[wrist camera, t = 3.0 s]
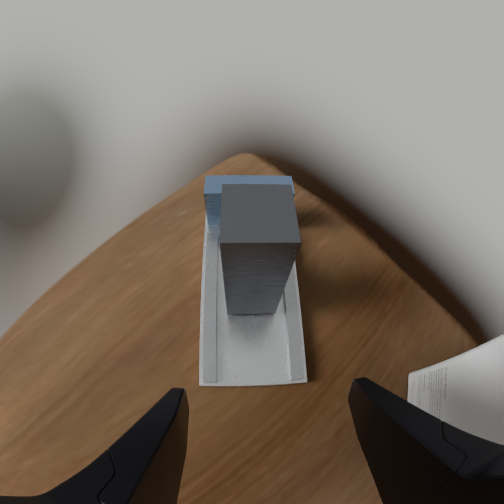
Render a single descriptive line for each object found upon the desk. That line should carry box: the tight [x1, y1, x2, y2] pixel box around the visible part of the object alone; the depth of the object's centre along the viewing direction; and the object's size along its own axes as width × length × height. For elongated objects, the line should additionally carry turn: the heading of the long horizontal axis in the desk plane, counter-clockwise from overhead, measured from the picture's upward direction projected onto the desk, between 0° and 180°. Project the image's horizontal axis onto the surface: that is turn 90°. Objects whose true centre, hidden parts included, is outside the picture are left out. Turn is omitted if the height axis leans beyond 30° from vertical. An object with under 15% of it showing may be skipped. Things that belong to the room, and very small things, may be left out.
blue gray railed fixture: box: [199, 175, 307, 387], centre depth 20 cm, size 16×8×5 cm, turn 2°
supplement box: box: [407, 334, 504, 445], centre depth 10 cm, size 9×9×15 cm
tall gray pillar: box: [220, 184, 301, 314], centre depth 18 cm, size 8×4×10 cm, turn 2°
